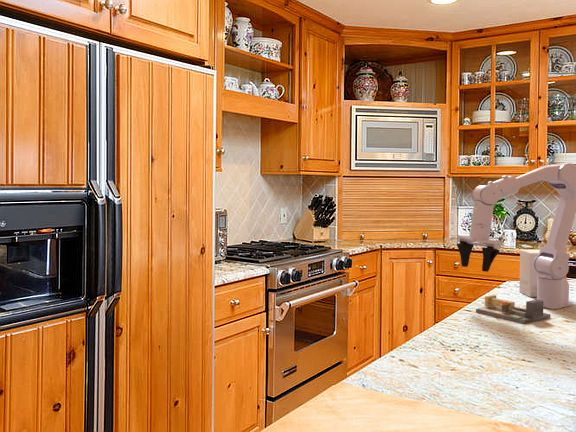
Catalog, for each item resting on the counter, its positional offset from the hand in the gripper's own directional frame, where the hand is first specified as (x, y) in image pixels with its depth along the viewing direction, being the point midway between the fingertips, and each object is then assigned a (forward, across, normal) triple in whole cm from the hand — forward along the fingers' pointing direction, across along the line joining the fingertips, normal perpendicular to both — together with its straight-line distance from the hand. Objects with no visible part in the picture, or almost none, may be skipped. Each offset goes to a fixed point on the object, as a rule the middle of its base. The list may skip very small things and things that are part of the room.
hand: (474, 268), depth 167 cm
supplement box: (+8, -1, +36) cm, 37 cm away
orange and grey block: (+10, +12, 0) cm, 16 cm away
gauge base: (+11, +12, +4) cm, 17 cm away
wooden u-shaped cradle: (+10, +8, +3) cm, 13 cm away
